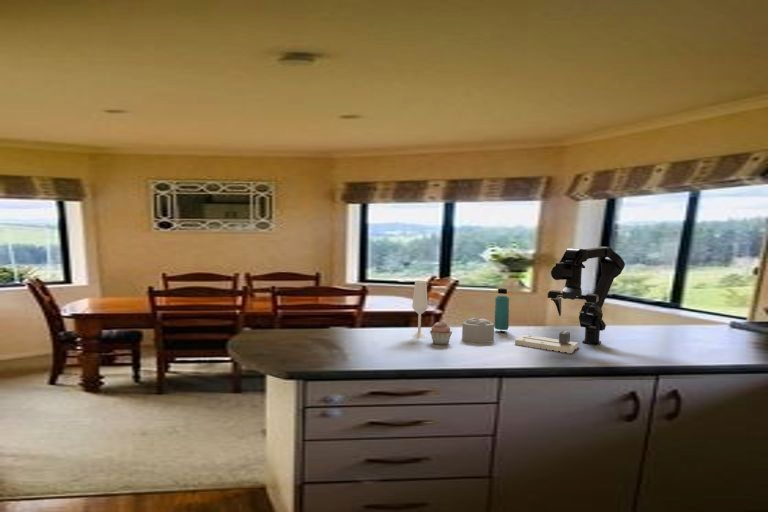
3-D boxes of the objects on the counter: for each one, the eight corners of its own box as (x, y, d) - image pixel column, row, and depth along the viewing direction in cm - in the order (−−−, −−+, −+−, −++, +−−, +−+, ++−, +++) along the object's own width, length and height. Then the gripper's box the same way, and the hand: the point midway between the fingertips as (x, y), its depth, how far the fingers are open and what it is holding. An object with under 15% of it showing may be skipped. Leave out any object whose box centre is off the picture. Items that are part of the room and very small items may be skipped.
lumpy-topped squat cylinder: (496, 341, 198) (497, 321, 198) (468, 343, 195) (469, 322, 194) (484, 335, 208) (484, 316, 208) (457, 337, 205) (458, 317, 204)
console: (524, 338, 204) (524, 334, 204) (577, 347, 192) (578, 342, 192) (515, 344, 194) (515, 339, 194) (571, 353, 182) (571, 348, 182)
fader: (561, 340, 192) (562, 330, 191) (569, 341, 190) (570, 331, 190) (558, 343, 188) (559, 333, 187) (566, 344, 186) (567, 334, 186)
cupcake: (427, 340, 198) (428, 316, 197) (449, 340, 198) (450, 317, 198) (431, 346, 188) (432, 321, 188) (454, 346, 189) (455, 321, 188)
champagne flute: (427, 338, 201) (429, 282, 200) (411, 337, 201) (413, 282, 200) (426, 334, 208) (427, 280, 206) (411, 334, 208) (412, 280, 206)
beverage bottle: (508, 333, 213) (510, 289, 212) (493, 332, 215) (495, 289, 213) (508, 330, 220) (509, 288, 218) (493, 329, 221) (495, 287, 220)
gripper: (544, 278, 190) (542, 317, 191) (594, 283, 180) (592, 323, 181) (552, 276, 199) (550, 313, 200) (599, 280, 189) (597, 319, 190)
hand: (571, 317), depth 193 cm, fingers open, 9 cm apart
